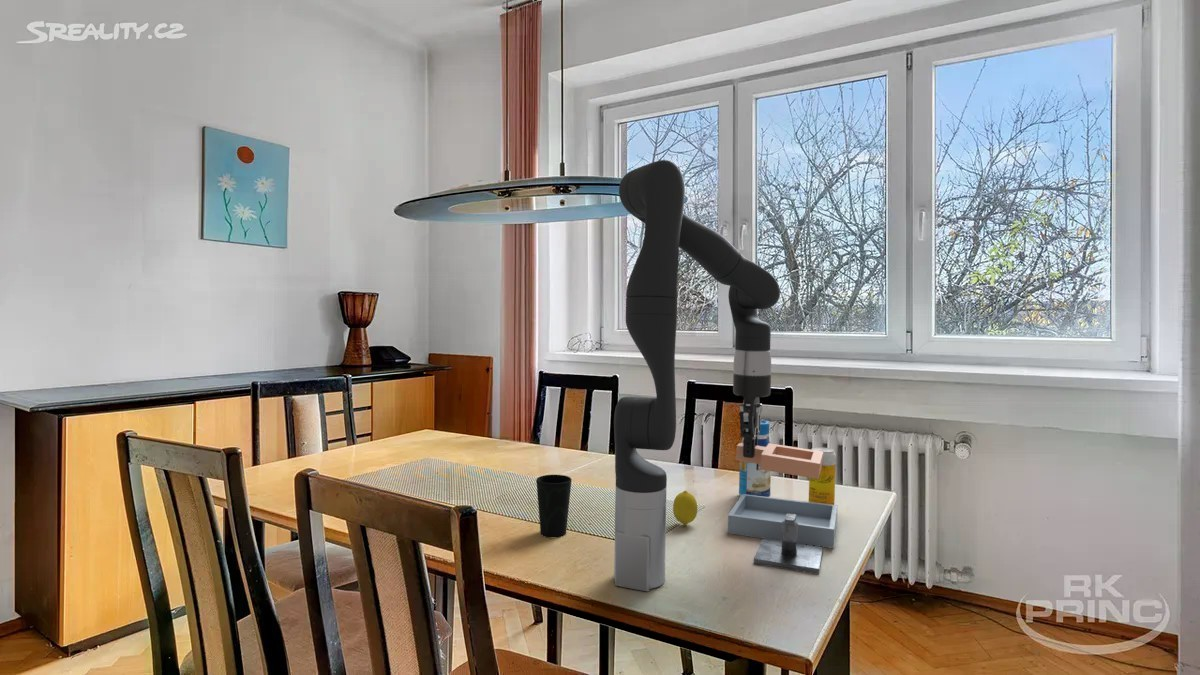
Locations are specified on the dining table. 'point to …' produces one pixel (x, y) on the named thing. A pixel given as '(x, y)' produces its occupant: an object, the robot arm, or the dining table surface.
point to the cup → (553, 504)
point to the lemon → (685, 507)
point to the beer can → (824, 479)
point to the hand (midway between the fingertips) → (750, 454)
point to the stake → (789, 550)
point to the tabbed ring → (785, 459)
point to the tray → (783, 519)
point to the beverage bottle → (755, 470)
